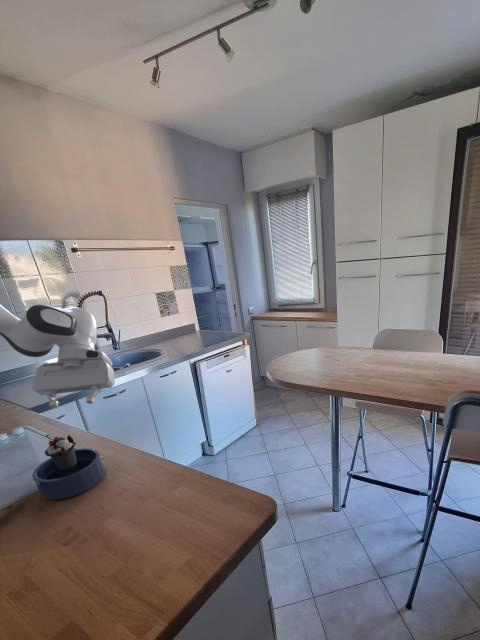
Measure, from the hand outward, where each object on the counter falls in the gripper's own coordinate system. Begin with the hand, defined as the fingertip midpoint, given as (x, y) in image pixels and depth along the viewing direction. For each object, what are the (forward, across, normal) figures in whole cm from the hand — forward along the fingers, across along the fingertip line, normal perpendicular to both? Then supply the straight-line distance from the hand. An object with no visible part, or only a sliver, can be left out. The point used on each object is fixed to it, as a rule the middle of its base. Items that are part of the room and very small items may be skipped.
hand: (72, 405), depth 91 cm
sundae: (+20, 0, +4) cm, 20 cm away
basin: (+20, 0, +5) cm, 21 cm away
